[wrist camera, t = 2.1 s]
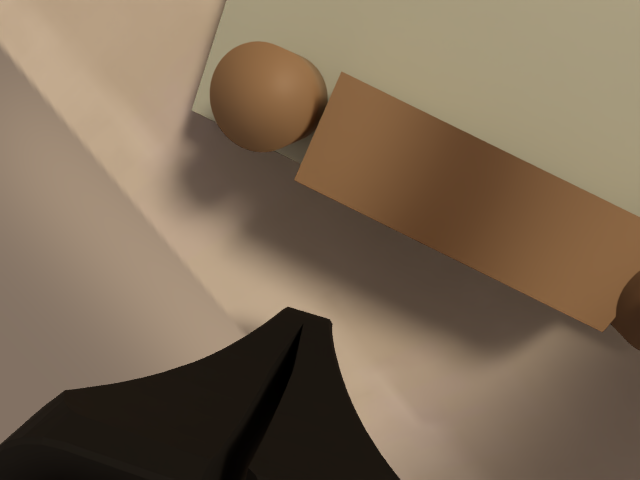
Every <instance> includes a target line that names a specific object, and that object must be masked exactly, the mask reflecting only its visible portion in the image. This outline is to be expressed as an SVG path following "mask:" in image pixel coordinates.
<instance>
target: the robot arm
mask: <svg viewBox="0 0 640 480" xmlns="http://www.w3.org/2000/svg"><path fill="white" fill-rule="evenodd" d="M0 480H400V479H399V477H398V476H397V475H396V474H395V472H394V471H393V470H392V468H391V467H390V466H389V464H388V463H387V462H386V460H385V459H384V458H383V456H382V455H381V453H380V452H379V450H378V449H377V447H376V446H375V444H374V443H373V441H372V439H371V438H370V436H369V435H368V433H367V431H366V430H365V428H364V426H363V424H362V422H361V420H360V418H359V416H358V414H357V412H356V410H355V408H354V406H353V404H352V402H351V399H350V397H349V394H348V392H347V389H346V387H345V384H344V381H343V378H342V375H341V372H340V369H339V365H338V361H337V357H336V353H335V348H334V343H333V336H332V323H331V321H330V319H327V318H323V317H320V316H317V315H313V314H310V313H307V312H304V311H300V310H297V309H294V308H290V307H287V308H285V309H283V310H282V311H280V312H279V313H278V314H277V315H275V316H274V317H273V318H272V319H270V320H269V321H267V322H266V323H265V324H263V325H262V326H260V327H259V328H257V329H256V330H254V331H253V332H251V333H250V334H248V335H247V336H245V337H243V338H242V339H240V340H238V341H236V342H235V343H233V344H231V345H229V346H227V347H226V348H224V349H222V350H220V351H218V352H216V353H214V354H212V355H210V356H207V357H205V358H203V359H200V360H198V361H195V362H193V363H190V364H187V365H184V366H181V367H178V368H175V369H172V370H169V371H166V372H162V373H159V374H155V375H151V376H147V377H144V378H139V379H134V380H130V381H125V382H120V383H114V384H108V385H101V386H95V387H87V388H80V389H73V390H65V391H64V392H62V393H61V394H60V395H58V396H57V397H56V398H54V399H53V400H52V401H50V402H49V403H48V404H46V405H45V406H44V407H42V408H41V409H40V410H39V411H38V412H37V413H36V414H34V415H33V416H32V417H31V418H30V419H29V420H27V421H26V422H25V423H24V424H23V425H22V426H21V427H20V428H19V429H17V430H16V431H15V432H14V433H13V434H12V435H11V436H9V437H8V438H7V439H6V440H5V441H4V442H3V443H1V444H0Z"/></svg>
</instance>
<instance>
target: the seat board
mask: <svg viewBox="0 0 640 480" xmlns="http://www.w3.org/2000/svg"><path fill="white" fill-rule="evenodd" d="M341 71H342V72H344V73H346V74H348V75H350V76H352V77H354V78H356V79H358V80H360V81H362V82H364V83H366V84H368V85H370V86H372V87H374V88H377V89H379V90H381V91H383V92H385V93H387V94H389V95H391V96H393V97H395V98H397V99H399V100H401V101H403V102H405V103H407V104H409V105H411V106H413V107H415V108H417V109H420V110H422V111H424V112H426V113H428V114H430V115H432V116H434V117H436V118H438V119H440V120H442V121H444V122H446V123H448V124H450V125H452V126H454V127H456V128H458V129H460V130H462V131H465V132H467V133H469V134H471V135H473V136H475V137H477V138H479V139H481V140H483V141H485V142H487V143H489V144H491V145H493V146H495V147H497V148H499V149H501V150H503V151H505V152H508V153H510V154H512V155H514V156H516V157H518V158H520V159H522V160H524V161H526V162H528V163H530V164H532V165H534V166H536V167H538V168H540V169H542V170H544V171H546V172H548V173H551V174H553V175H555V176H557V177H559V178H561V179H563V180H565V181H567V182H569V183H571V184H573V185H575V186H577V187H579V188H581V189H583V190H585V191H587V192H589V193H591V194H593V195H596V196H598V197H600V198H602V199H604V200H606V201H608V202H610V203H612V204H614V205H616V206H618V207H620V208H622V209H624V210H626V211H628V212H630V213H632V214H634V215H636V216H639V217H640V0H226V3H225V7H224V10H223V13H222V16H221V19H220V22H219V25H218V29H217V32H216V35H215V38H214V41H213V44H212V47H211V51H210V54H209V57H208V60H207V63H206V66H205V69H204V73H203V76H202V79H201V82H200V85H199V88H198V91H197V95H196V98H195V101H194V104H193V107H192V111H194V112H196V113H198V114H200V115H202V116H204V117H206V118H208V119H210V120H212V121H214V122H216V123H217V124H218V126H219V127H220V129H221V130H222V132H223V133H224V134H225V135H226V136H227V137H228V138H229V139H230V140H231V141H232V142H234V143H235V144H237V145H238V146H240V147H242V148H245V149H247V150H251V151H255V152H270V151H275V152H277V153H279V154H281V155H283V156H285V157H287V158H289V159H291V160H293V161H295V162H298V163H300V164H301V163H302V161H303V158H304V156H305V154H306V151H307V149H308V147H309V144H310V142H311V140H312V138H313V135H314V133H315V131H316V128H317V126H318V124H319V122H320V119H321V117H322V115H323V112H324V110H325V108H326V105H327V103H328V101H329V99H330V96H331V94H332V92H333V89H334V87H335V85H336V83H337V80H338V78H339V76H340V73H341Z"/></svg>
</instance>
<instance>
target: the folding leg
mask: <svg viewBox="0 0 640 480" xmlns="http://www.w3.org/2000/svg"><path fill="white" fill-rule="evenodd" d="M294 180H295V181H297V182H299V183H301V184H303V185H305V186H307V187H309V188H311V189H313V190H315V191H317V192H319V193H321V194H323V195H325V196H327V197H329V198H331V199H333V200H335V201H337V202H339V203H341V204H343V205H345V206H347V207H349V208H351V209H354V210H356V211H358V212H360V213H362V214H364V215H366V216H368V217H370V218H372V219H374V220H376V221H378V222H380V223H382V224H384V225H386V226H388V227H390V228H392V229H394V230H396V231H398V232H400V233H402V234H404V235H406V236H408V237H410V238H412V239H414V240H416V241H418V242H420V243H422V244H424V245H427V246H429V247H431V248H433V249H435V250H437V251H439V252H441V253H443V254H445V255H447V256H449V257H451V258H453V259H455V260H457V261H459V262H461V263H463V264H465V265H467V266H469V267H471V268H473V269H475V270H477V271H479V272H481V273H483V274H485V275H487V276H489V277H491V278H493V279H495V280H497V281H499V282H502V283H504V284H506V285H508V286H510V287H512V288H514V289H516V290H518V291H520V292H522V293H524V294H526V295H528V296H530V297H532V298H534V299H536V300H538V301H540V302H542V303H544V304H546V305H548V306H550V307H552V308H554V309H556V310H558V311H560V312H562V313H564V314H566V315H568V316H570V317H572V318H574V319H577V320H579V321H581V322H583V323H585V324H587V325H589V326H591V327H593V328H595V329H597V330H599V331H601V332H603V331H604V330H605V329H606V328H607V327H608V325H609V324H611V325H612V326H613V327H614V328H615V329H616V330H617V331H618V332H619V333H620V334H621V335H622V336H623V337H624V338H625V339H626V340H627V341H628V342H629V343H630V344H631V345H632V346H633V347H635V348H636V349H638V350H640V217H639V216H636V215H634V214H632V213H630V212H628V211H626V210H624V209H622V208H620V207H618V206H616V205H614V204H612V203H610V202H608V201H606V200H604V199H602V198H600V197H598V196H596V195H593V194H591V193H589V192H587V191H585V190H583V189H581V188H579V187H577V186H575V185H573V184H571V183H569V182H567V181H565V180H563V179H561V178H559V177H557V176H555V175H553V174H551V173H548V172H546V171H544V170H542V169H540V168H538V167H536V166H534V165H532V164H530V163H528V162H526V161H524V160H522V159H520V158H518V157H516V156H514V155H512V154H510V153H508V152H505V151H503V150H501V149H499V148H497V147H495V146H493V145H491V144H489V143H487V142H485V141H483V140H481V139H479V138H477V137H475V136H473V135H471V134H469V133H467V132H465V131H462V130H460V129H458V128H456V127H454V126H452V125H450V124H448V123H446V122H444V121H442V120H440V119H438V118H436V117H434V116H432V115H430V114H428V113H426V112H424V111H422V110H420V109H417V108H415V107H413V106H411V105H409V104H407V103H405V102H403V101H401V100H399V99H397V98H395V97H393V96H391V95H389V94H387V93H385V92H383V91H381V90H379V89H377V88H374V87H372V86H370V85H368V84H366V83H364V82H362V81H360V80H358V79H356V78H354V77H352V76H350V75H348V74H346V73H344V72H342V71H341V73H340V76H339V78H338V80H337V83H336V85H335V87H334V89H333V92H332V94H331V96H330V99H329V101H328V103H327V105H326V108H325V110H324V112H323V115H322V117H321V119H320V122H319V124H318V126H317V128H316V131H315V133H314V135H313V138H312V140H311V142H310V144H309V147H308V149H307V151H306V154H305V156H304V158H303V161H302V163H301V165H300V167H299V170H298V172H297V174H296V177H295V179H294Z"/></svg>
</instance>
